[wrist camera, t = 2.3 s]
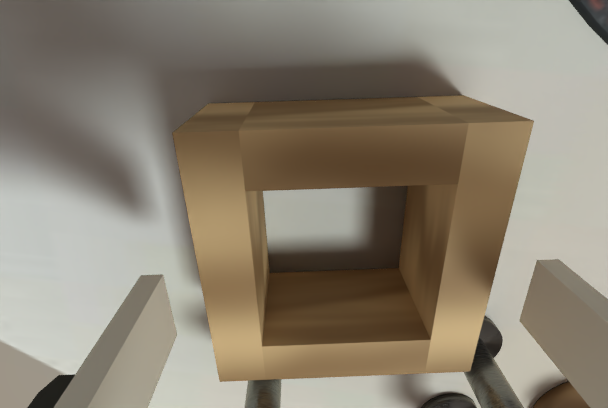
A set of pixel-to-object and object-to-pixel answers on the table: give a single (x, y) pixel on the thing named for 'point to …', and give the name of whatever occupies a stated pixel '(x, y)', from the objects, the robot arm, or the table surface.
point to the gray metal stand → (482, 378)
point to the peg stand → (562, 398)
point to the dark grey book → (594, 15)
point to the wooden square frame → (364, 282)
